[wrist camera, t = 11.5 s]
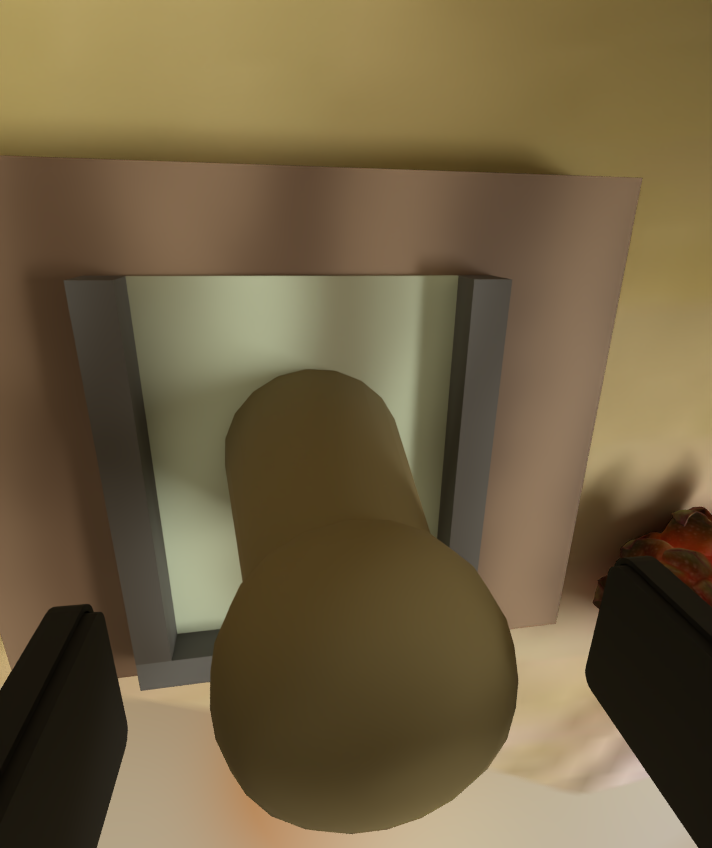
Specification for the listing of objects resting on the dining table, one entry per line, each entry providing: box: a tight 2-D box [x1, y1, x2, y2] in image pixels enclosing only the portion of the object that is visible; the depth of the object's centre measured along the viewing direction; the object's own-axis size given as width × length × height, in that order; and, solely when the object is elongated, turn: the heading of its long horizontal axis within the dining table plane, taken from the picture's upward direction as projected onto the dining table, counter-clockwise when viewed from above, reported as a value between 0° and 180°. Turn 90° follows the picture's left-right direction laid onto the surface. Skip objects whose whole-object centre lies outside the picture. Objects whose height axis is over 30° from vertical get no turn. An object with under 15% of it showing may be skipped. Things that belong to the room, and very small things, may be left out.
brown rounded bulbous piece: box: [210, 369, 518, 834], centre depth 12 cm, size 6×6×11 cm
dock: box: [0, 156, 642, 691], centre depth 18 cm, size 22×18×4 cm
